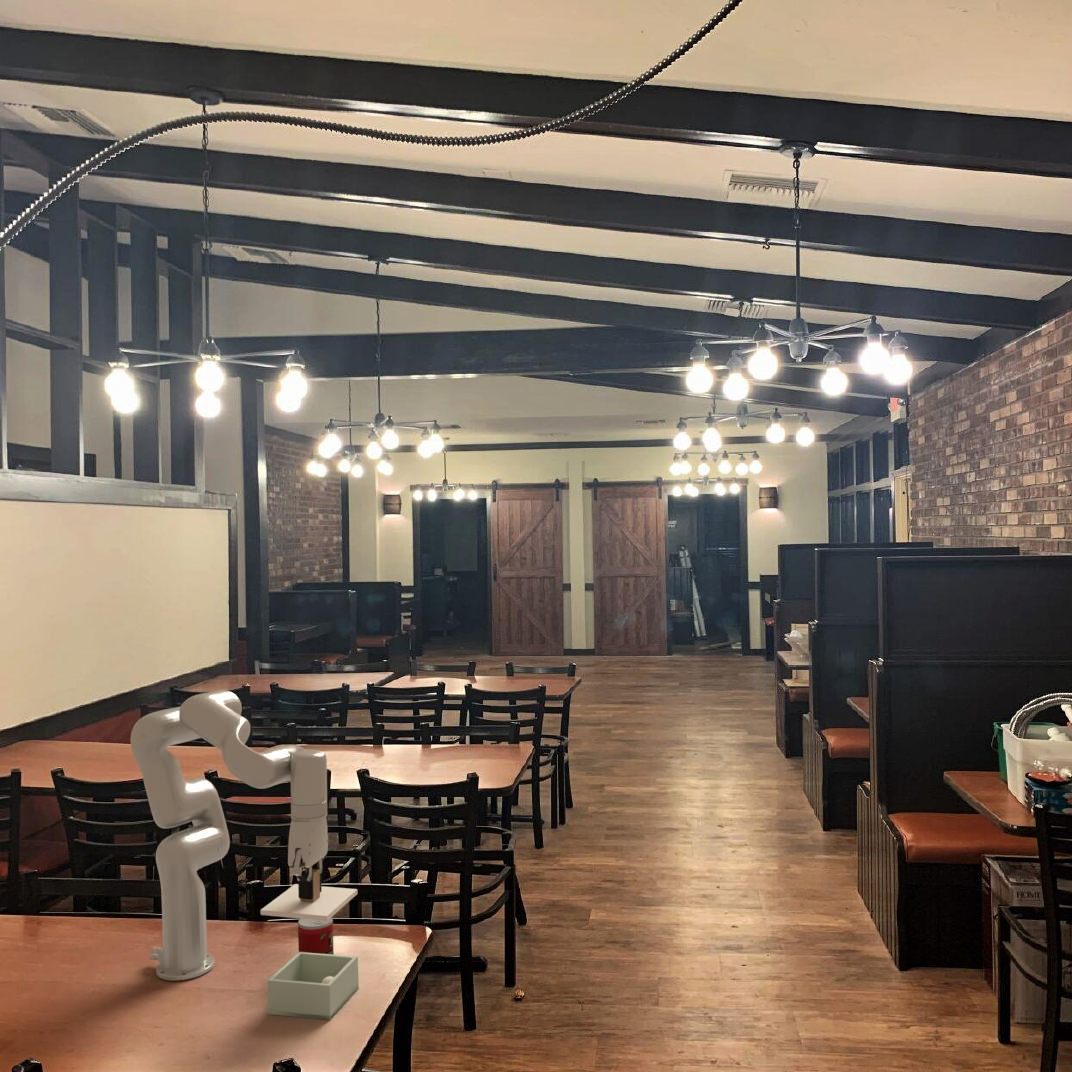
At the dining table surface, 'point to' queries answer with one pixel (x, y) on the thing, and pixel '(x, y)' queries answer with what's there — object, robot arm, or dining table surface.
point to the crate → (313, 985)
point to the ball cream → (327, 979)
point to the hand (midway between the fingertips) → (310, 894)
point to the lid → (310, 901)
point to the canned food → (315, 936)
